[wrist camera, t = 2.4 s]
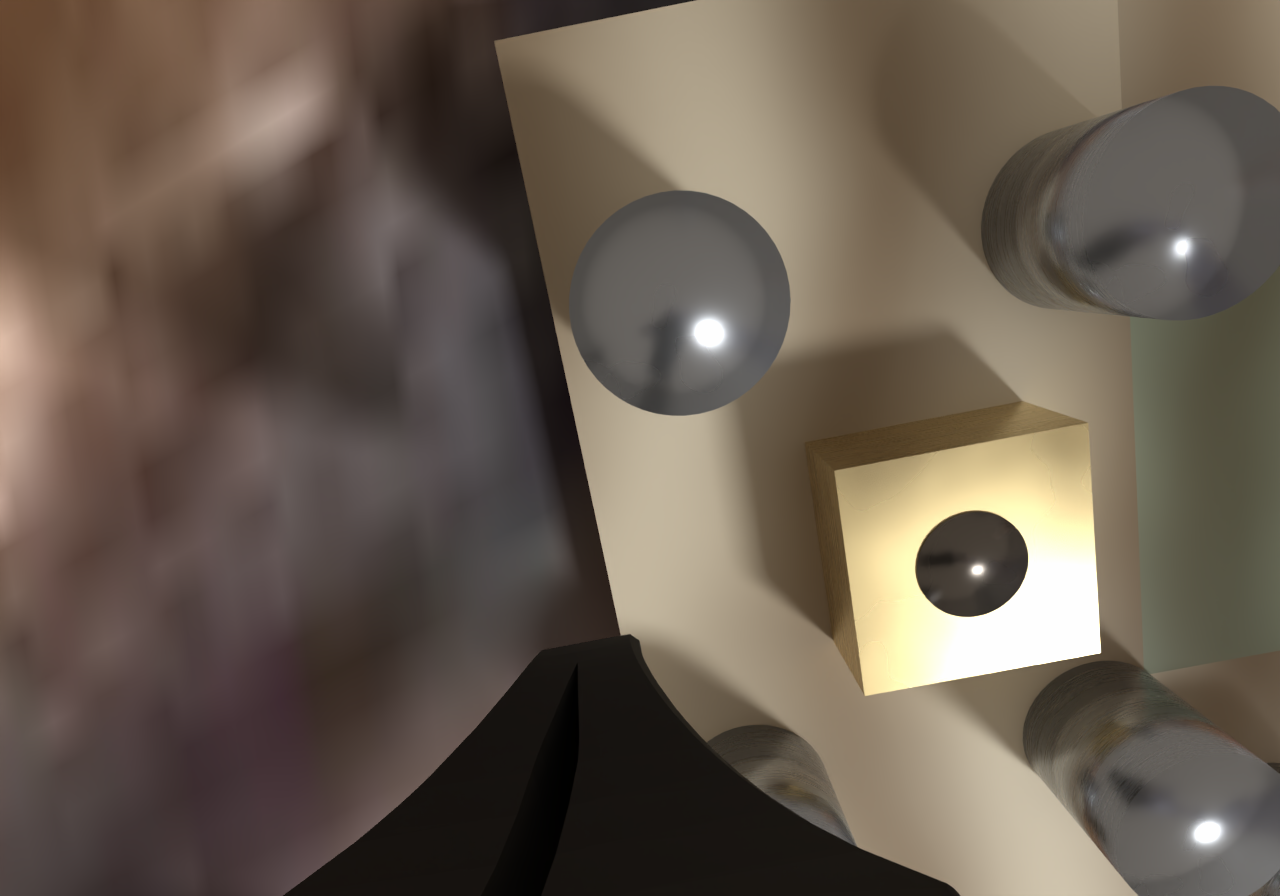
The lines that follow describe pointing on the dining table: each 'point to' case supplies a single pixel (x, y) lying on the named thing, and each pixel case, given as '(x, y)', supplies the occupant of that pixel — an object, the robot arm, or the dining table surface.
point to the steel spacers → (1044, 277)
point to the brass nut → (957, 545)
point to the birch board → (911, 379)
